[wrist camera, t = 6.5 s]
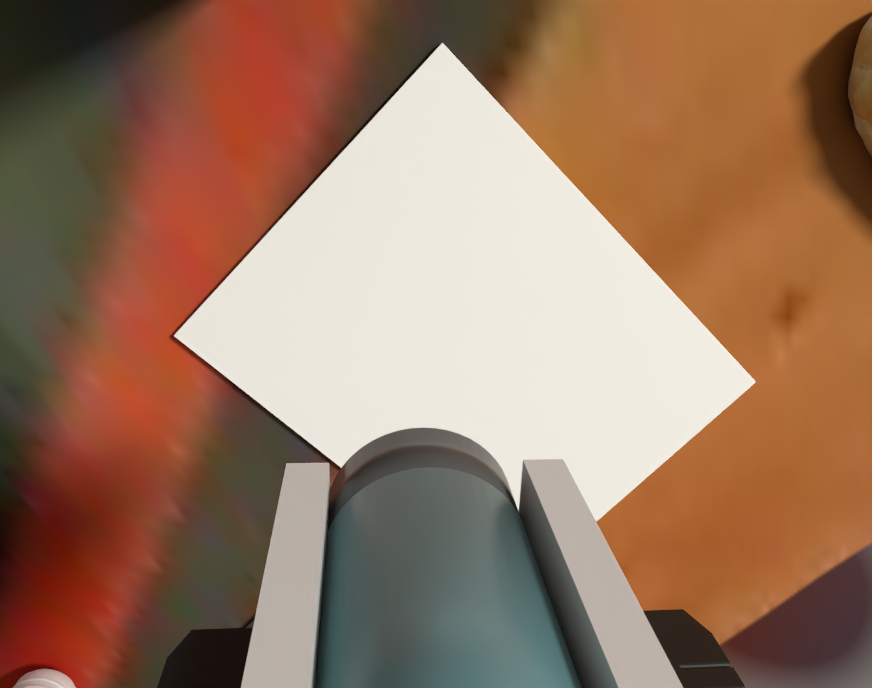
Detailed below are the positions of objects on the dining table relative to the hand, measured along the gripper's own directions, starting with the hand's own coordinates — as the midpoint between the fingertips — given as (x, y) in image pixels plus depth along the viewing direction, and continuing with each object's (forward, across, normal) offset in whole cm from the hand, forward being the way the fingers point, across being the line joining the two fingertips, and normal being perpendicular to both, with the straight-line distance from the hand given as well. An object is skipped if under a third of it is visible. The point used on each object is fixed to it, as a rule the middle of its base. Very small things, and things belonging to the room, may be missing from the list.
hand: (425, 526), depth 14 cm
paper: (+15, +3, -2) cm, 15 cm away
